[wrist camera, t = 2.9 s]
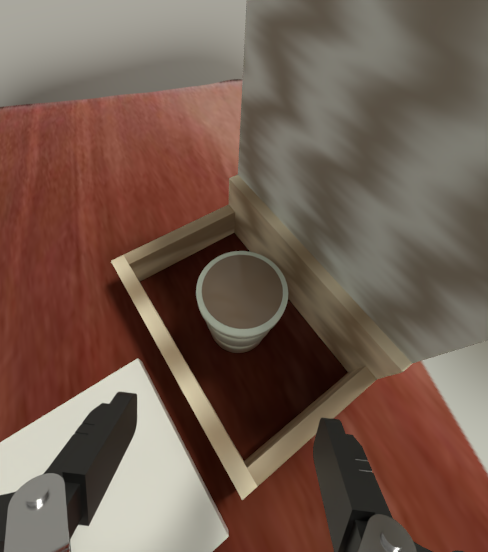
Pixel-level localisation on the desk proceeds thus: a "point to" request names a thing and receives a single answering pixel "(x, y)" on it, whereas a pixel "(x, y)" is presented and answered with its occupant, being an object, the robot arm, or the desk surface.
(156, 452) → the concrete tile
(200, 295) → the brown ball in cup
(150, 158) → the desk surface
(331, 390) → the cold frame
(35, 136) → the desk surface
